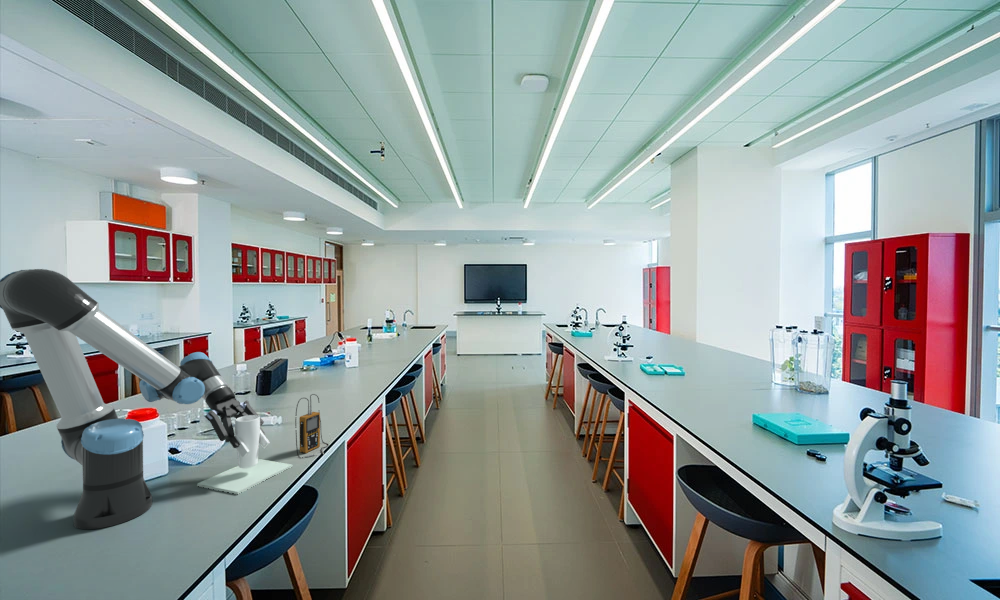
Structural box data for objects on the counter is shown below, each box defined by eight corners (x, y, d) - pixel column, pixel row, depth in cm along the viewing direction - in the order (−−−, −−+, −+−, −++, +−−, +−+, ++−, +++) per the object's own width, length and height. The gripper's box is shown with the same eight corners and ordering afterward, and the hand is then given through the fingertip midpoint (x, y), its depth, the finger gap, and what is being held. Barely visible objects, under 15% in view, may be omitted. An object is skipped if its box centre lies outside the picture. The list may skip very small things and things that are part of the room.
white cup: (265, 461, 136) (264, 415, 136) (250, 470, 130) (250, 422, 129) (245, 460, 137) (245, 414, 137) (230, 469, 130) (229, 421, 130)
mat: (237, 494, 121) (237, 491, 121) (197, 486, 126) (197, 483, 126) (292, 467, 140) (292, 464, 140) (255, 460, 145) (255, 458, 145)
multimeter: (314, 460, 146) (313, 402, 145) (291, 456, 149) (290, 400, 148) (343, 445, 159) (342, 392, 159) (321, 442, 163) (321, 390, 162)
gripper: (238, 393, 147) (275, 446, 142) (179, 409, 128) (220, 469, 124) (249, 379, 145) (288, 432, 141) (192, 393, 127) (234, 454, 122)
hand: (256, 449), depth 132 cm, fingers closed on white cup, 7 cm apart
